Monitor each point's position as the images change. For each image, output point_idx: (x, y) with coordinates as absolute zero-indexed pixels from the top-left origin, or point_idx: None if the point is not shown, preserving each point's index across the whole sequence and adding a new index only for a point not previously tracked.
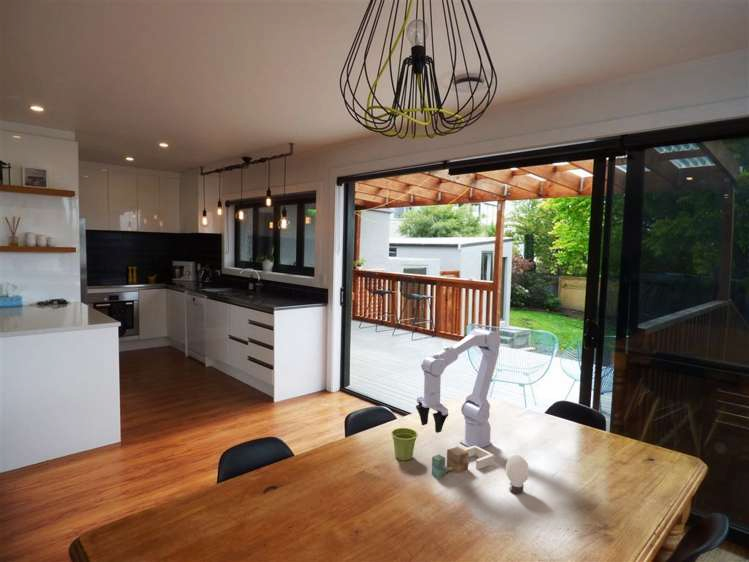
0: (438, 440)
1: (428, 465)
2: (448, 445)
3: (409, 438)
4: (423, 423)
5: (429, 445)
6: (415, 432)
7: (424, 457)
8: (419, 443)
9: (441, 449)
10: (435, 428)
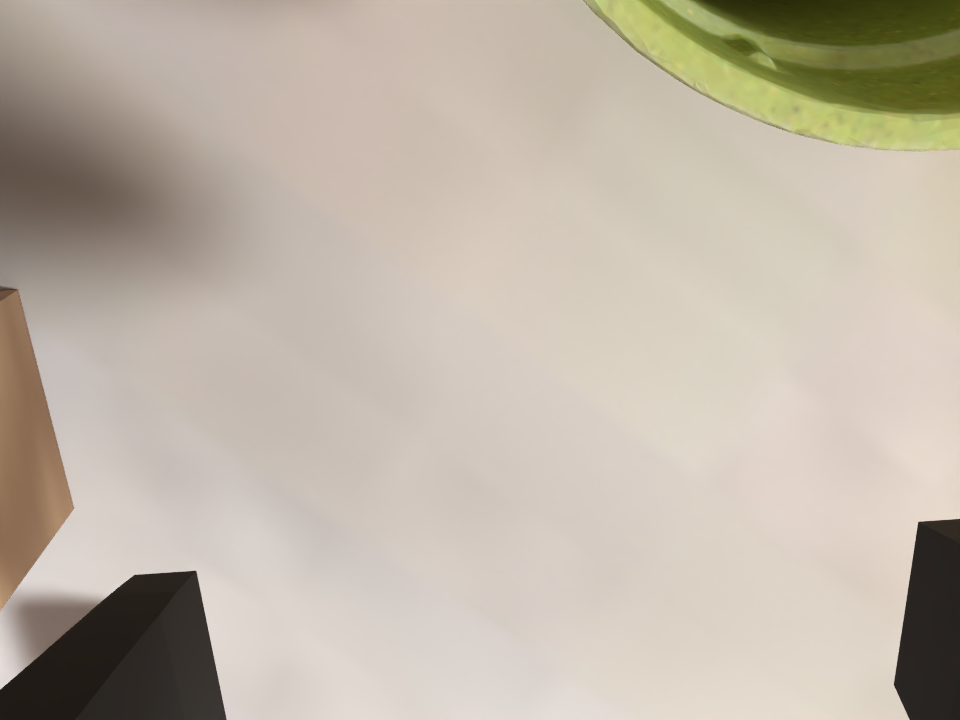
0: (824, 692)
1: (186, 32)
2: (614, 716)
3: (935, 1)
4: (948, 583)
5: (783, 492)
6: (834, 99)
7: (482, 159)
8: (943, 396)
9: (567, 567)
10: (107, 645)
